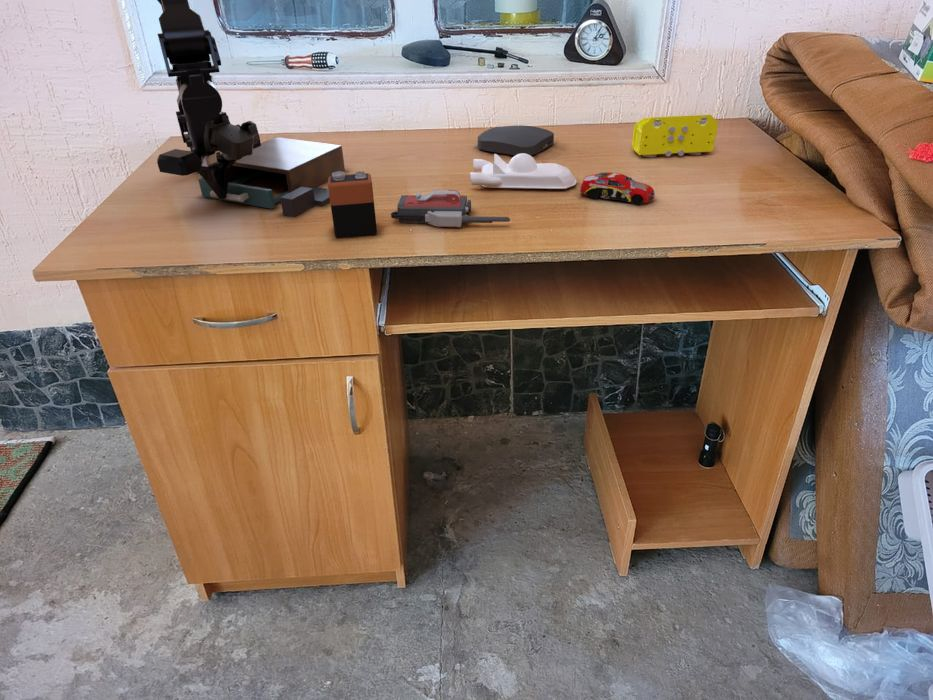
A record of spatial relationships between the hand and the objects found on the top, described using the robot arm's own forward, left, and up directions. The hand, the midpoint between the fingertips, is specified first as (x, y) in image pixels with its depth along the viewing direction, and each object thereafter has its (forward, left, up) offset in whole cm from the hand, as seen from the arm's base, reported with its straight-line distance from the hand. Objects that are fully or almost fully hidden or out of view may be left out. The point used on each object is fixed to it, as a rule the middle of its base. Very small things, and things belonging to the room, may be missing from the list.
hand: (222, 198), depth 116 cm
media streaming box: (+34, +55, -2) cm, 65 cm away
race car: (+63, +32, -2) cm, 71 cm away
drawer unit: (0, +17, -2) cm, 17 cm away
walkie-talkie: (+40, +11, -2) cm, 42 cm away
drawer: (0, +10, -2) cm, 10 cm away
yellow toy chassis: (+67, +62, -2) cm, 92 cm away
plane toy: (+45, +32, -2) cm, 56 cm away
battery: (+28, 0, -2) cm, 28 cm away
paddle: (+13, +8, -2) cm, 15 cm away
